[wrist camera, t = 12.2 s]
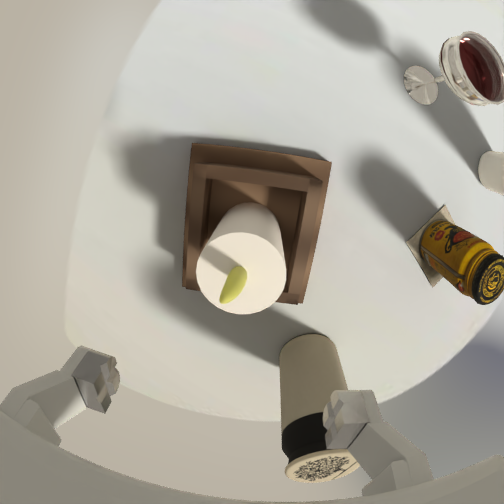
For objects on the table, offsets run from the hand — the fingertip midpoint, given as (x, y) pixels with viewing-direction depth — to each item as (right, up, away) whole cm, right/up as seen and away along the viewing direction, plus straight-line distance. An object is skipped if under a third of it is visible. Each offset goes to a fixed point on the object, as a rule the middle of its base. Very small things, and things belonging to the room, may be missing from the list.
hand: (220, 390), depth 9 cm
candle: (+1, +7, +20) cm, 22 cm away
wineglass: (+21, +24, +15) cm, 35 cm away
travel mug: (+9, -9, +28) cm, 30 cm away
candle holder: (+1, +8, +21) cm, 23 cm away
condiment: (+25, +6, +21) cm, 33 cm away
